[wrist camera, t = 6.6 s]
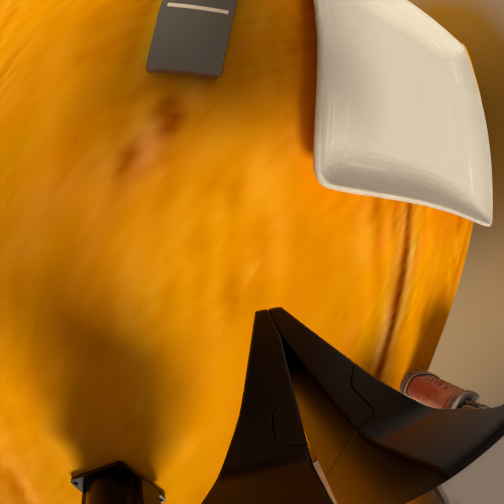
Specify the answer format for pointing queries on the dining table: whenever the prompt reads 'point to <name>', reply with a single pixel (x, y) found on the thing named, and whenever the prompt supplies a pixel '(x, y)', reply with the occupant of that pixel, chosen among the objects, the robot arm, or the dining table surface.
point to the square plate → (398, 109)
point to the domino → (191, 37)
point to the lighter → (438, 392)
